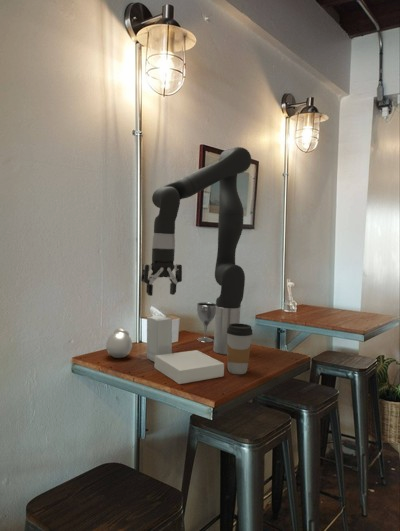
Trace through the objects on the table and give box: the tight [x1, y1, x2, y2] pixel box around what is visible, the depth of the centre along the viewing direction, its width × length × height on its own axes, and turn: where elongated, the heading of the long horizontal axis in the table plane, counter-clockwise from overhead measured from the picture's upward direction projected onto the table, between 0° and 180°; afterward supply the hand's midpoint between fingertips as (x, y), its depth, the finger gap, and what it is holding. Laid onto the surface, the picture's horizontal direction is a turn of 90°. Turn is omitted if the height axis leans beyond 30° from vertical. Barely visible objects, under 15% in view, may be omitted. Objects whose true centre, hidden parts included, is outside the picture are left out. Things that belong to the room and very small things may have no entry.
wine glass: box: [196, 302, 216, 343], centre depth 174 cm, size 8×8×15 cm
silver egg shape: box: [105, 327, 133, 359], centre depth 145 cm, size 9×10×10 cm
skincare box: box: [146, 314, 173, 363], centre depth 144 cm, size 8×6×15 cm
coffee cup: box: [226, 323, 253, 375], centre depth 137 cm, size 8×8×15 cm
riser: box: [154, 349, 225, 385], centre depth 134 cm, size 16×16×4 cm
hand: (161, 294), depth 143 cm, fingers open, 8 cm apart
